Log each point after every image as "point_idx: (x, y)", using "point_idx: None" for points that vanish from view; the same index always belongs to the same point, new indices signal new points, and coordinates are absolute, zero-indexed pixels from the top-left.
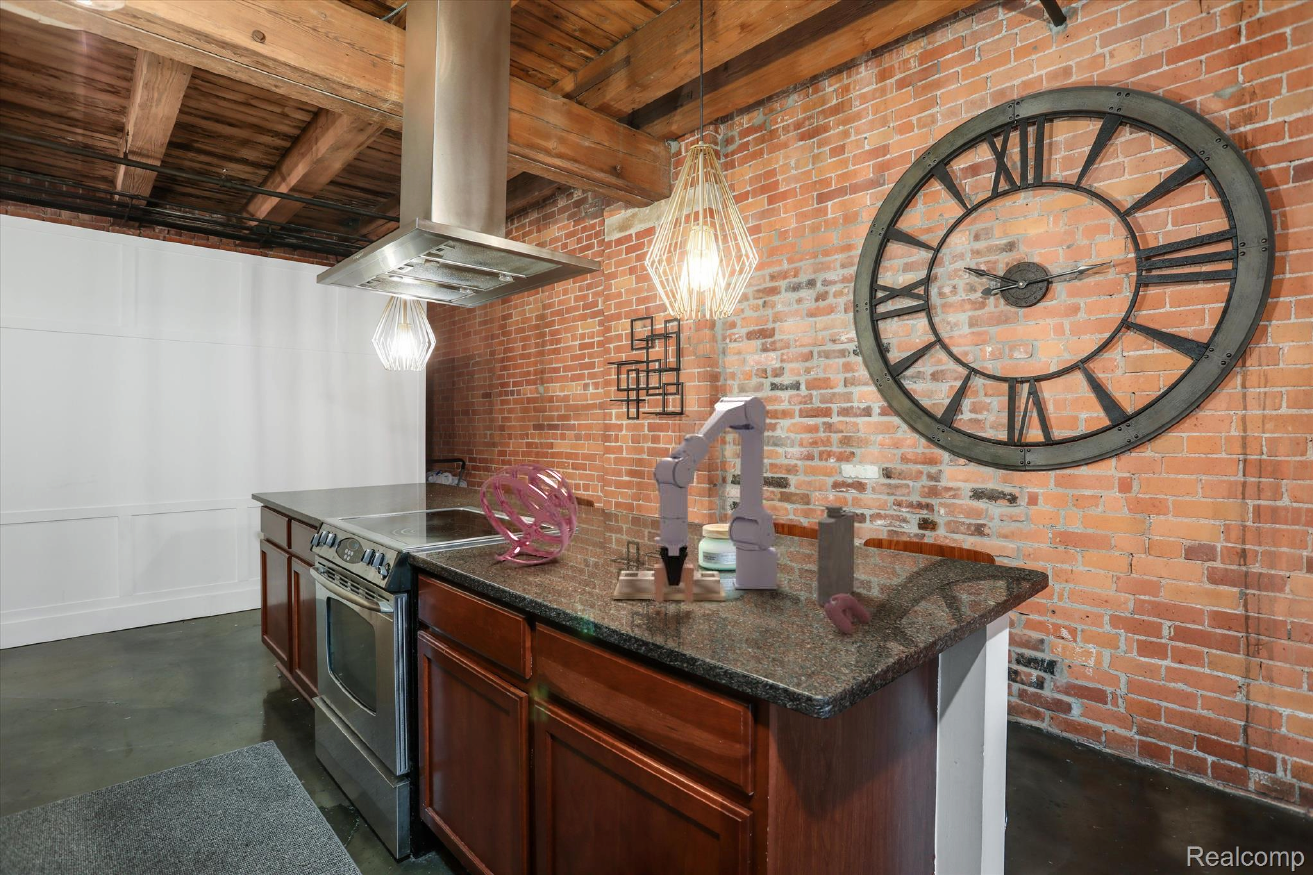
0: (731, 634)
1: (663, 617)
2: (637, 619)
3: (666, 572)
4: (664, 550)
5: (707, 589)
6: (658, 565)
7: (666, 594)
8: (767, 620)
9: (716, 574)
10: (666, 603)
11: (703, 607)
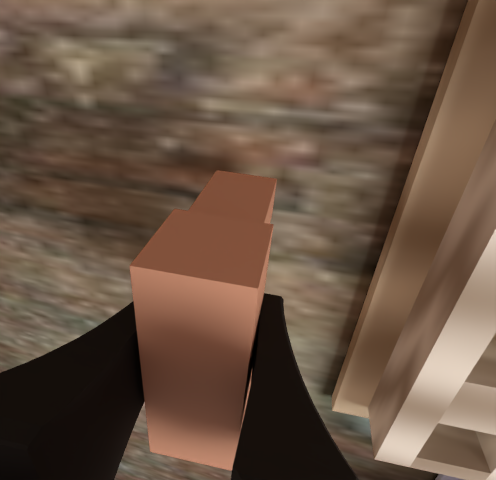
0: (25, 327)
1: (142, 178)
2: (102, 58)
3: (112, 316)
4: (31, 473)
5: (383, 391)
6: (208, 308)
7: (411, 239)
8: (144, 417)
9: (466, 474)
10: (337, 217)
11: None
